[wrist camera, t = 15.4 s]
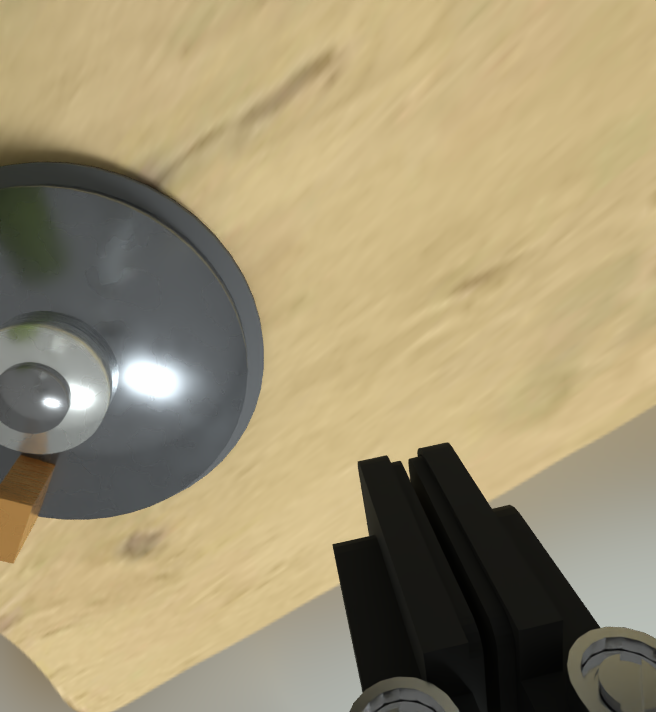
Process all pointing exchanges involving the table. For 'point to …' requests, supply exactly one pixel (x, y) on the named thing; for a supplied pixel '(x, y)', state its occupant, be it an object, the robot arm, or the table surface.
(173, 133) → the table surface
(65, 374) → the cover
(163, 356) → the turntable
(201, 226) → the turntable base
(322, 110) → the table surface
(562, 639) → the robot arm
